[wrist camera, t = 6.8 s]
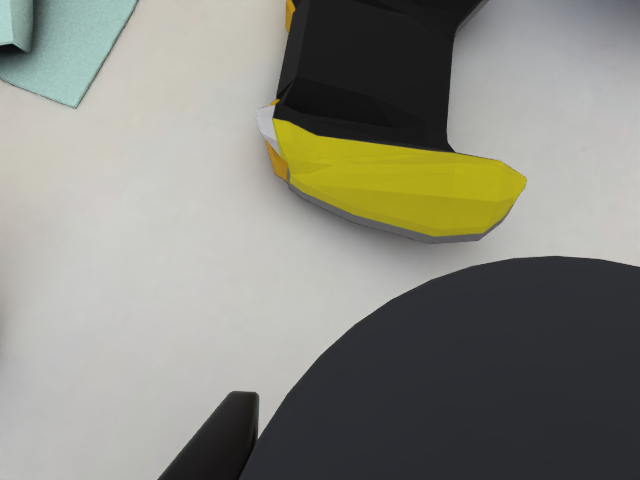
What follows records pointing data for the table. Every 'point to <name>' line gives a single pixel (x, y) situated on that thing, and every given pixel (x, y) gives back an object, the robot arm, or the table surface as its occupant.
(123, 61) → the table surface
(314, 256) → the table surface
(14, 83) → the cloth
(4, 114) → the table surface
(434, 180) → the gaming controller
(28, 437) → the table surface
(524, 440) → the dark grey cylinder
